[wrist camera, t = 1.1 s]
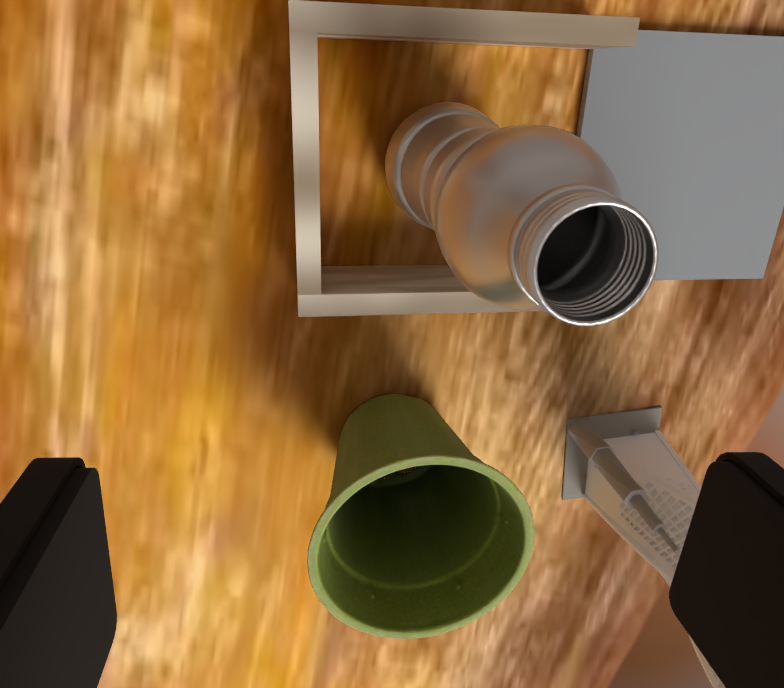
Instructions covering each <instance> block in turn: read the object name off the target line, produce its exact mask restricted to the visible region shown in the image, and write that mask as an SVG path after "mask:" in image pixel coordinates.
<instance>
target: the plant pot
mask: <svg viewBox="0 0 784 688" xmlns="http://www.w3.org/2000/svg"><path fill="white" fill-rule="evenodd" d="M415 466H418V467H417V468H416V469H414V470H412V471H411V472H408V473H406V474H402V475H397V472H398V471H399V470H402V469H406V468H410V467H415ZM384 478H385V479H384ZM534 537H535V529H534V521H533V516H532V513H531V510H530V507H529V505H528V503H527V501H526V499H525V497H524V496H523V494H522V493H521V491H520V490H519V489H518V488H517V487H516V485H515V484H514V483H513V482H512V481H511V480H510V479H508V478H507V477H506V476H505V475H504V474H502V473H501V472H499V471H498V470H496V469H495V468H493V467H491V466H489V465H487V464H485V463H483V462H482V461H481V460H480V459H478V458H477V457H475V456H474V455H473V454H472V453H471V452H470V451H469V449H468V448H467V447H466V446H465V445H464V443H463V442H462V441H461V440H460V438H459V437H458V436H457V435H456V434H455V433H454V431H453V430H452V429H451V428H450V427H449V426H448V424H447V423H446V422H445V421H444V419H443V418H442V417H441V416H440V415H439V413H438V412H437V411H436V410H435V409H434V408H433V407H432V406H431V405H430V404H429V403H427V402H426V401H424V400H422V399H420V398H416V397H412V396H408V395H403V394H387V395H382V396H378V397H375V398H373V399H370V400H369V401H367V402H365V403H363V404H362V405H361V406H359V407H358V408H357V409H356V410H355V411H353V412H352V414H351V415H350V416H349V417H348V419H347V420H346V422H345V424H344V427H343V429H342V431H341V434H340V439H339V444H338V451H337V457H336V463H335V469H334V475H333V482H332V488H331V494H330V498H329V500H328V502H327V505H326V508H325V510H324V512H323V513H322V515H321V516H320V518H319V520H318V522H317V524H316V526H315V528H314V530H313V533H312V536H311V539H310V543H309V548H308V562H307V563H308V573H309V578H310V581H311V584H312V587H313V589H314V592H315V593H316V595H317V597H318V598H319V600H320V601H321V603H322V604H323V605H324V606H325V608H326V609H327V610H328V611H329V612H330V613H331V614H332V615H333V616H335V617H336V618H337V619H338V620H340V621H341V622H343V623H345V624H346V625H348V626H350V627H352V628H354V629H356V630H359V631H362V632H365V633H368V634H372V635H376V636H381V637H387V638H398V639H410V638H422V637H429V636H434V635H439V634H442V633H446V632H449V631H452V630H455V629H458V628H460V627H462V626H464V625H467V624H469V623H471V622H473V621H475V620H477V619H479V618H480V617H482V616H483V615H485V614H486V613H488V612H489V611H491V610H492V609H493V608H494V607H496V606H497V605H498V604H499V603H500V602H502V601H503V600H504V599H505V598H506V597H507V596H508V594H509V593H510V592H511V591H512V590H513V589H514V587H515V586H516V585H517V583H518V582H519V580H520V579H521V577H522V575H523V574H524V572H525V570H526V568H527V566H528V563H529V561H530V558H531V555H532V551H533V546H534Z"/></svg>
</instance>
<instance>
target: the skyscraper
mask: <svg viewBox="0 0 784 688" xmlns="http://www.w3.org/2000/svg"><path fill="white" fill-rule="evenodd" d="M661 411H662V407H661V406H660V407H653V408H646V409H638V410H631V411H623V412H616V413H609V414H601V415H594V416H586V417H579V418H572V419H567V430H566V445H565V460H564V474H563V489H562V500H567V499H574V498H580V497H583V498H584V499H585V500H586V501H587V502H588V503H589V504H590V505H591V506H592V507H593V508H594V509H595V511H596V512H597V513H598V514H599V515H600V516H601V517H602V518H603V519H604V520H605V521H606V522H607V523H608V524H609V525H610V526H611V527H612V528H613V529H614V530H615V531H616V532H617V533H618V534H619V535H620V536H621V537H622V538H623V539H624V540H625V541H626V542H627V543H628V544H629V545H630V546H631V547H632V548H633V549H634V550H635V551H636V552H637V553H638V554H640V555H641V556H642V557H643V558H644V559H645V560H646V561H647V562H648V563H649V564H650V565H652V566H653V567H654V568H655V569H656V570H657V571H658V572H659V573H660V574H661V575H662V576H663V578H664V579H665V581H666V582H667V584H668V585H669V587H670V586H671V583H672V580H673V577H674V573H675V570H676V567H677V564H678V561H679V557H680V554H681V551H682V548H683V545H684V542H685V538H686V535H687V532H688V529H689V526H690V522H691V519H692V516H693V513H694V510H695V507H696V503H697V500H698V497H699V494H700V491H701V486H700V485H699V484H698V482H697V481H696V479H695V478H694V477H693V475H692V474H691V472H690V471H689V470H688V468H687V467H686V466H685V464H684V463H683V462H682V460H681V459H680V457H679V456H678V455H677V453H676V452H675V451H674V449H673V448H672V447H671V445H670V444H669V442H668V441H667V440H666V438H665V437H664V436H663V434H662V433H661V432H660V430H659V425H660V418H661ZM688 635H689V634H688ZM689 637H690V636H689ZM690 640H691V642H692V644H693V647H694V649H695V651H696V654H697V656H698V658H699V660H700V662H701V664H702V667H703V669H704V671H705V673H706V675H707V677H708V679H709V681H710V683H711V685H712V686H713V688H725V686H724V685H723V683H722V682H721V680H720V679H719V677H718V676H717V675H716V673H715V672H714V670H713V669H712V667H711V666H710V664H709V663H708V662H707V660H706V659H705V657H704V656H703V654H702V653H701V651H700V650H699V649H698V647H697V646H696V644H695V643H694V641H693V640H692V638H691V637H690Z"/></svg>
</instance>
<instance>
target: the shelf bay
mask: <svg viewBox="0 0 784 688" xmlns="http://www.w3.org/2000/svg"><path fill="white" fill-rule="evenodd" d="M288 6H289V38H290V69H291V101H292V133H293V164H294V196H295V228H296V260H297V291H298V317H321V316H363V315H405V314H447V313H489V312H531V311H545V310H544V309H541V310H517V309H513V308H508V307H504V306H500V305H496V304H493V303H490V302H488V301H486V300H484V299H481V298H479V297H478V296H476V295H475V294H474V293H472V292H471V291H469V290H468V289H467V288H465V286H464V285H463V284H462V283H461V282H460V281H459V280H458V279H457V278H456V277H455V275H454V274H453V272H452V270H451V269H450V267H449V265H369V266H321V241H320V175H319V108H318V42H317V38H337V39H360V40H384V41H408V42H431V43H455V44H479V45H503V46H526V47H550V48H574V49H600V48H618V47H635V45H636V39H637V34H638V28H639V22H640V18H637V17H617V16H597V15H578V14H558V13H538V12H519V11H499V10H479V9H460V8H440V7H420V6H401V5H381V4H361V3H341V2H322V1H302V0H288Z"/></svg>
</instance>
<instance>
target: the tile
mask: <svg viewBox="0 0 784 688" xmlns="http://www.w3.org/2000/svg"><path fill="white" fill-rule="evenodd" d="M576 136H578V137H579V138H581V139H583V140H585V141H586V142H587V143H588V144H589V145H590V146H591V147H592V148H594V149H595V150H596V151H597V152H598V153H599V155H600V156H601V158H602V159H603V160H604V162H605V163H606V165H607V166H608V167H609V169H610V170H611V172H612V173H613V174H614V176H615V179H616V181H617V183H618V186H619V188H620V191H621V196H622V201H624V202H626V203H628V204H630V205H631V206H633V207H635V208H636V209H637V210H638V211H639V212H640V213H641V214H643V215H644V216H645V217H646V219H647V220H648V221H649V223H650V224H651V226H652V227H653V230H654V232H655V235H656V237H657V242H658V248H659V259H658V266H657V270H656V274H655V277H654V279H653V280H690V279H751V278H763V276H764V273H765V269H766V266H767V262H768V259H769V256H770V252H771V249H772V245H773V242H774V238H775V235H776V231H777V228H778V224H779V221H780V217H781V214H782V211H783V207H784V37H779V36H758V35H737V34H716V33H695V32H674V31H653V30H638V34H637V39H636V45H635V47H618V48H600V49H589V52H588V59H587V66H586V72H585V79H584V86H583V93H582V100H581V107H580V113H579V120H578V127H577V134H576Z"/></svg>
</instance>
